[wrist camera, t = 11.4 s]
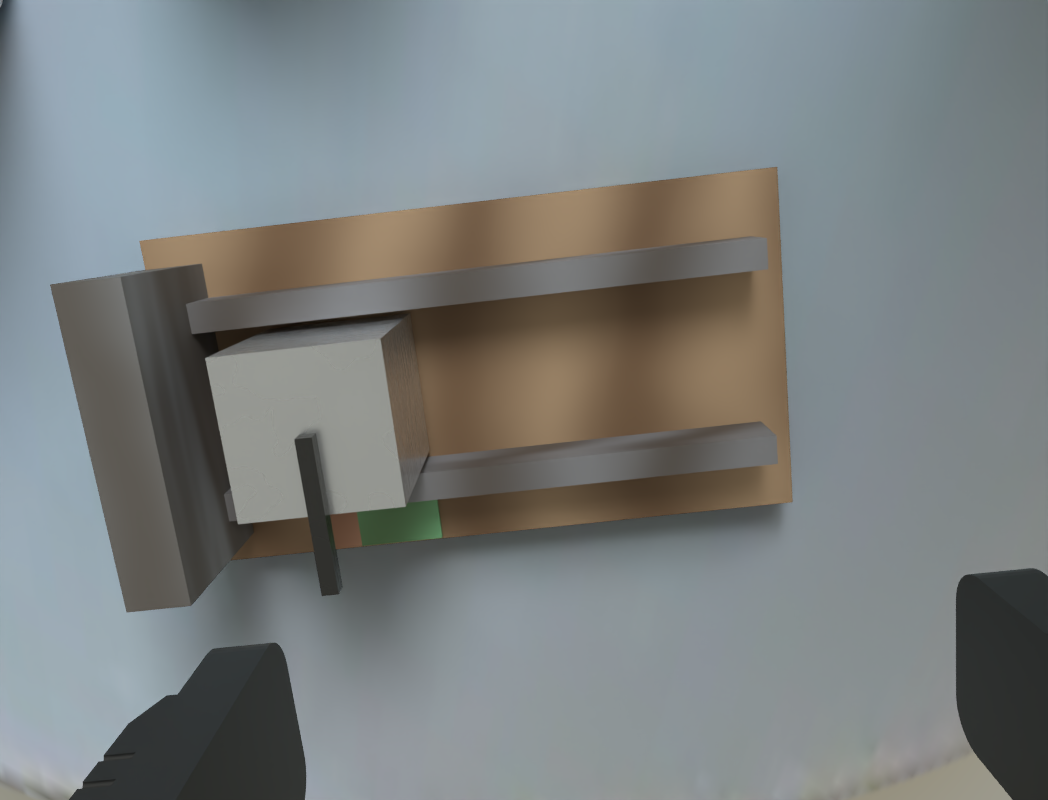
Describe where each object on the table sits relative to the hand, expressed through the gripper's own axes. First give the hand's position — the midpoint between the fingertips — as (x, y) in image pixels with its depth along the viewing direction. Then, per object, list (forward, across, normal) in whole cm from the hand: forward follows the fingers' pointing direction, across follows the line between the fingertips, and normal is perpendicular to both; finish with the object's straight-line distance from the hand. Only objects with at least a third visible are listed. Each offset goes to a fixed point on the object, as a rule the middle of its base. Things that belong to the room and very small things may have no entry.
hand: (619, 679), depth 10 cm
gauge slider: (+20, +7, +1) cm, 22 cm away
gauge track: (+22, +3, 0) cm, 22 cm away
